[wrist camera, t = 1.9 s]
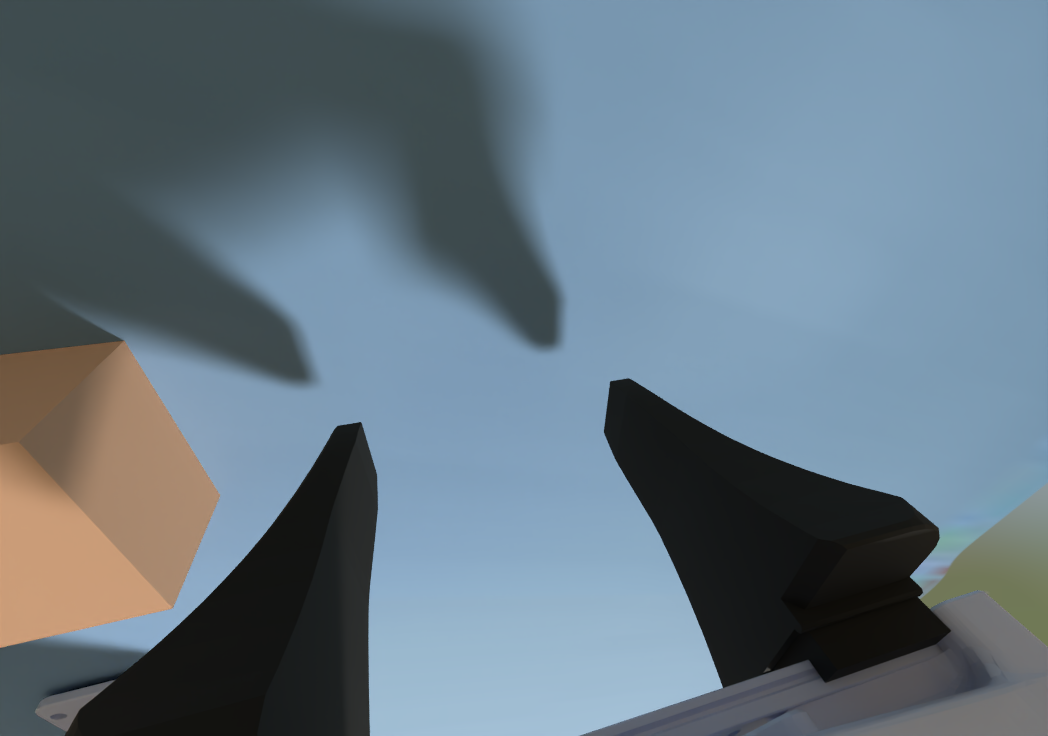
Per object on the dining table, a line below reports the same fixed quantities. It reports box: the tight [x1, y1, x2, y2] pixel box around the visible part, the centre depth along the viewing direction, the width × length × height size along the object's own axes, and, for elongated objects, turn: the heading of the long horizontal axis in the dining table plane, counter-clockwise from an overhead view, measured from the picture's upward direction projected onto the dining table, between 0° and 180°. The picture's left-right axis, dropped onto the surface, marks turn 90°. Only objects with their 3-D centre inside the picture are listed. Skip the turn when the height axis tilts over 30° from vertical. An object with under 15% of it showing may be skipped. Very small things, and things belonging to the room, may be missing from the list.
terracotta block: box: [0, 341, 220, 648], centre depth 11 cm, size 6×6×4 cm
